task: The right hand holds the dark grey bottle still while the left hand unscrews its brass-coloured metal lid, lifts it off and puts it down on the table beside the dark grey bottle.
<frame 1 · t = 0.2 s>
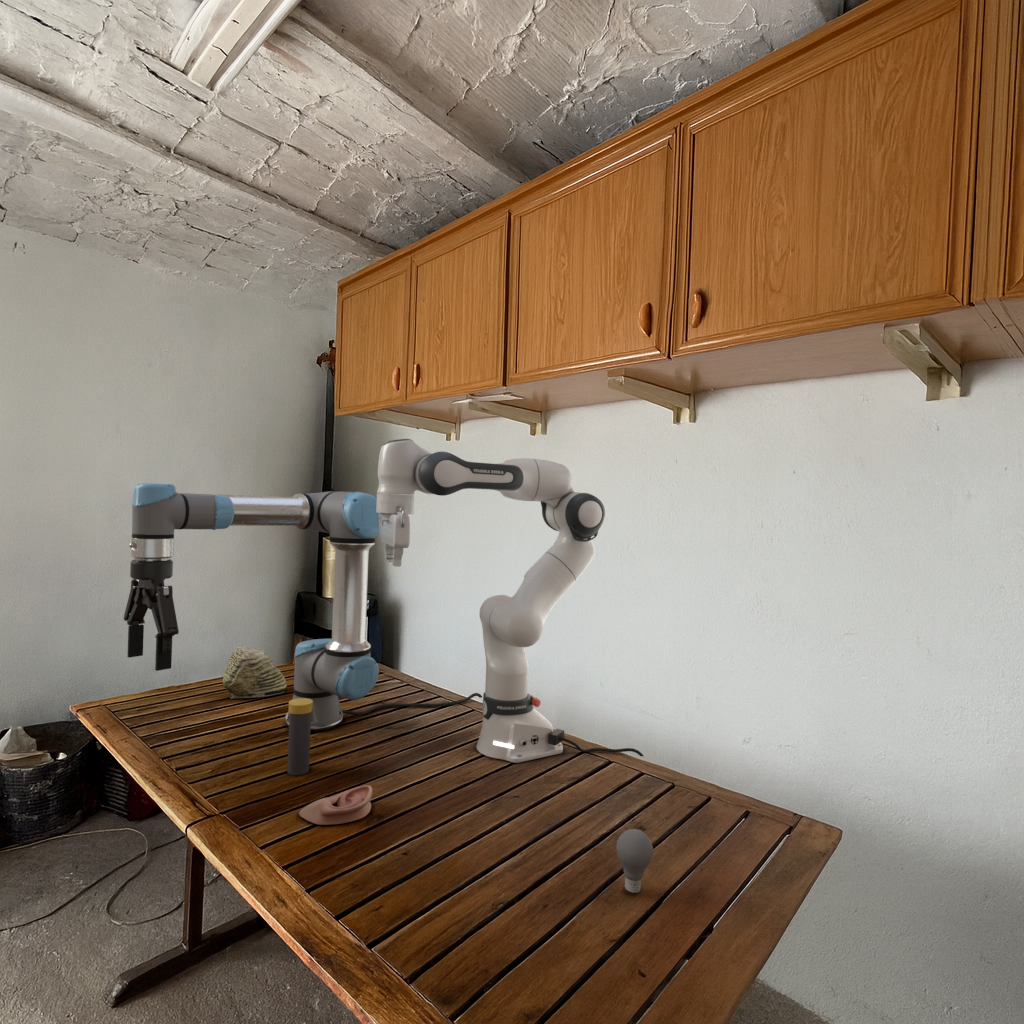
left hand: (148, 662, 129), 28 cm above the table, tool pointing down, fingers open, 13 cm apart
right hand: (392, 564, 152), 48 cm above the table, tool pointing down, fingers open, 8 cm apart
lid: (300, 703, 145), point 16 cm above the table, screwed on, not yet turned
anatomical model: (335, 812, 127), on the table
fossil: (254, 694, 198), on the table
dark grey bottle: (298, 770, 146), on the table
light bulb: (632, 891, 106), on the table
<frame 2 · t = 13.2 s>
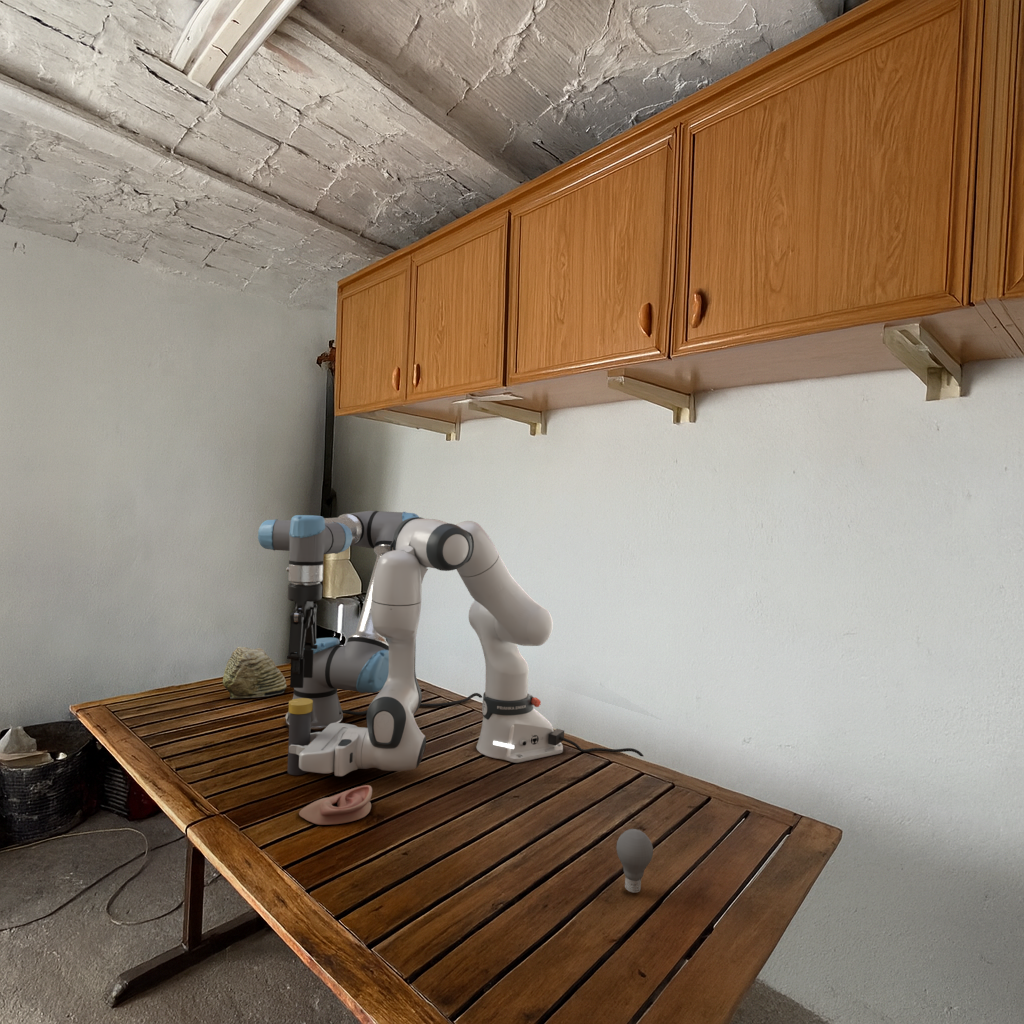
left hand: (301, 682, 145), 21 cm above the table, tool pointing down, fingers open, 7 cm apart
right hand: (295, 743, 146), 6 cm above the table, tool horizontal, fingers closed on dark grey bottle, 5 cm apart
dark grey bottle: (298, 770, 146), on the table, touching right hand
everything else where it was.
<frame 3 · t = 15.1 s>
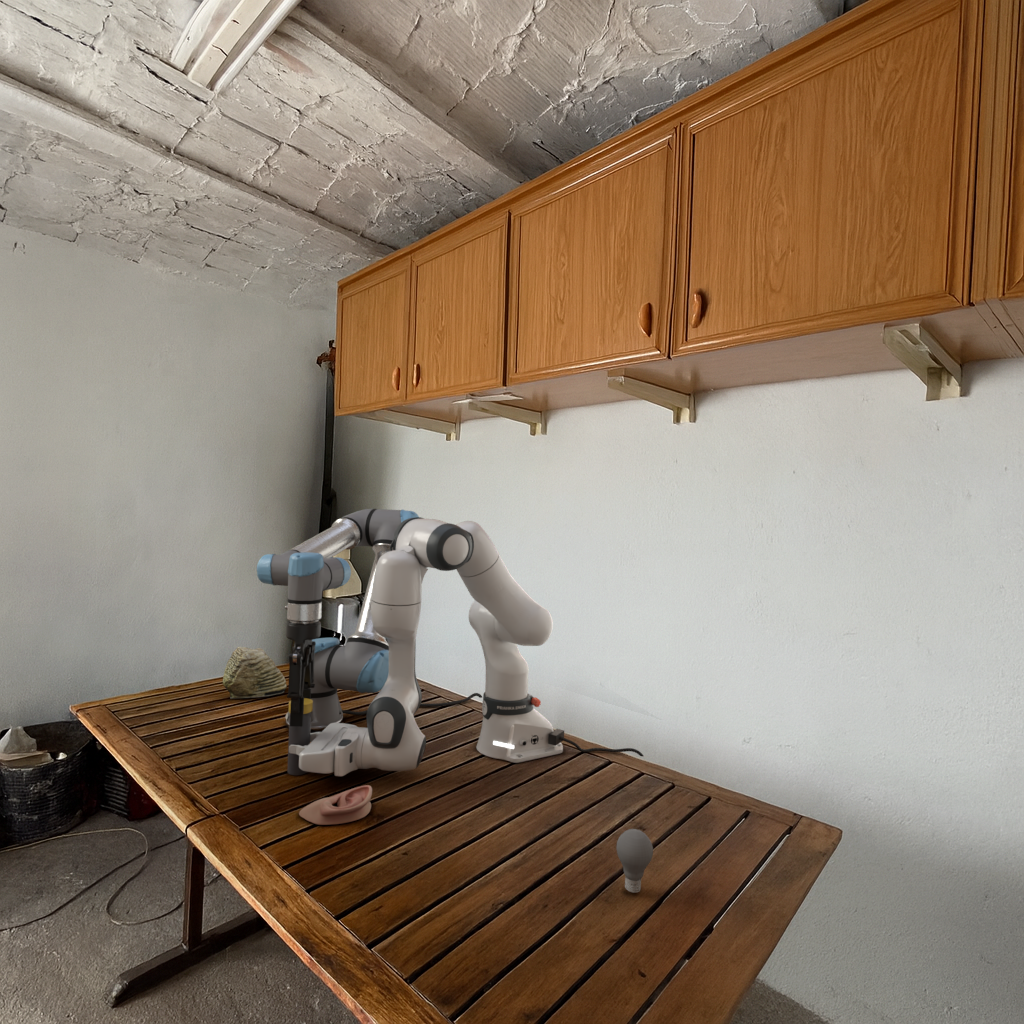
left hand: (300, 720, 145), 12 cm above the table, tool pointing down, fingers closed on lid, 5 cm apart
right hand: (295, 743, 146), 6 cm above the table, tool horizontal, fingers closed on dark grey bottle, 5 cm apart
lid: (300, 703, 145), point 16 cm above the table, screwed on, not yet turned, touching left hand
dark grey bottle: (298, 770, 146), on the table, touching right hand
everything else where it was.
when the left hand's fingers open (12 cm above the table, at t = 16.4 s): lid stays where it is, point 16 cm above the table.
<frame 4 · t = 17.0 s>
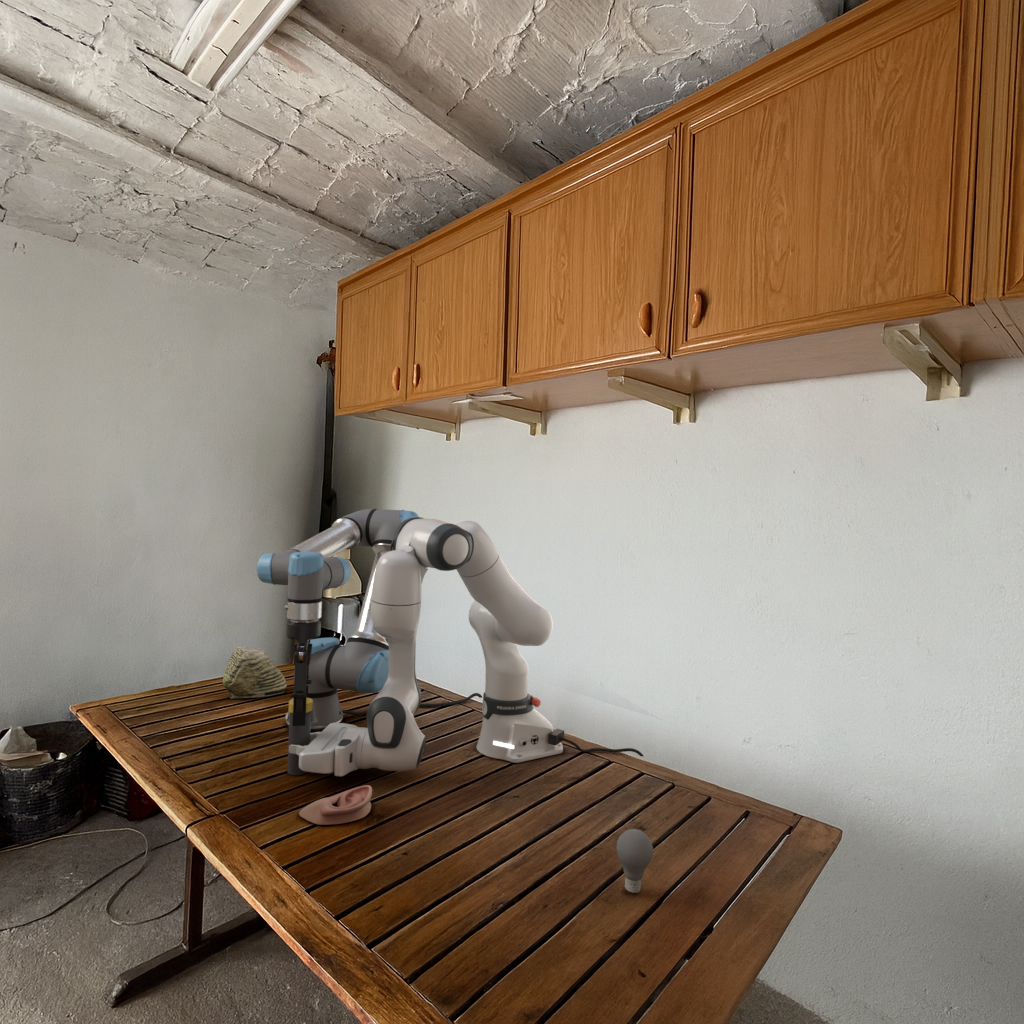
left hand: (300, 718, 145), 12 cm above the table, tool pointing down, fingers open, 7 cm apart
right hand: (295, 743, 146), 6 cm above the table, tool horizontal, fingers closed on dark grey bottle, 5 cm apart
lid: (300, 702, 145), point 16 cm above the table, turned 77° so far, risen 0.2 cm, still on its thread
dark grey bottle: (298, 770, 146), on the table, touching right hand
everything else where it was.
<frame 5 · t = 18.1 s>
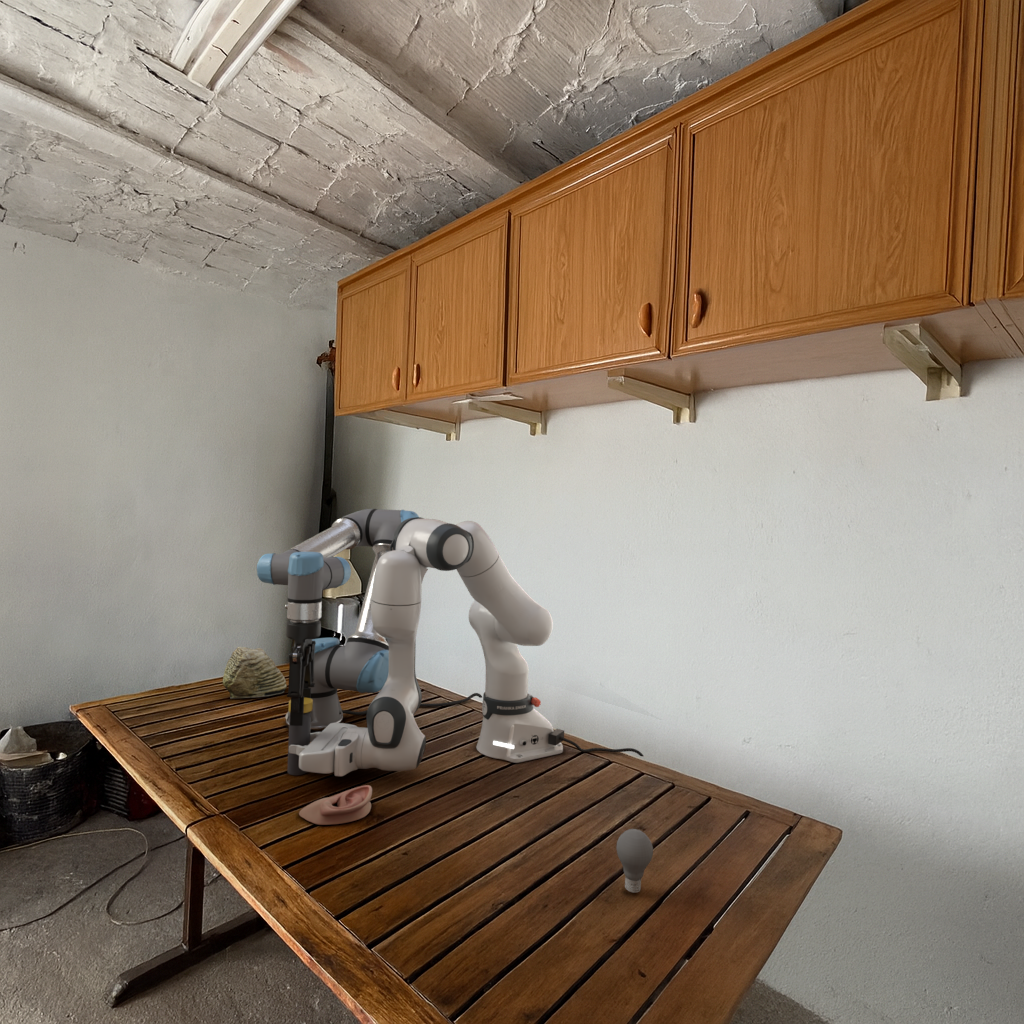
left hand: (300, 720, 145), 12 cm above the table, tool pointing down, fingers closed on lid, 5 cm apart
right hand: (295, 743, 146), 6 cm above the table, tool horizontal, fingers closed on dark grey bottle, 5 cm apart
lid: (300, 702, 145), point 16 cm above the table, turned 77° so far, risen 0.2 cm, still on its thread, touching left hand
dark grey bottle: (298, 770, 146), on the table, touching right hand
everything else where it was.
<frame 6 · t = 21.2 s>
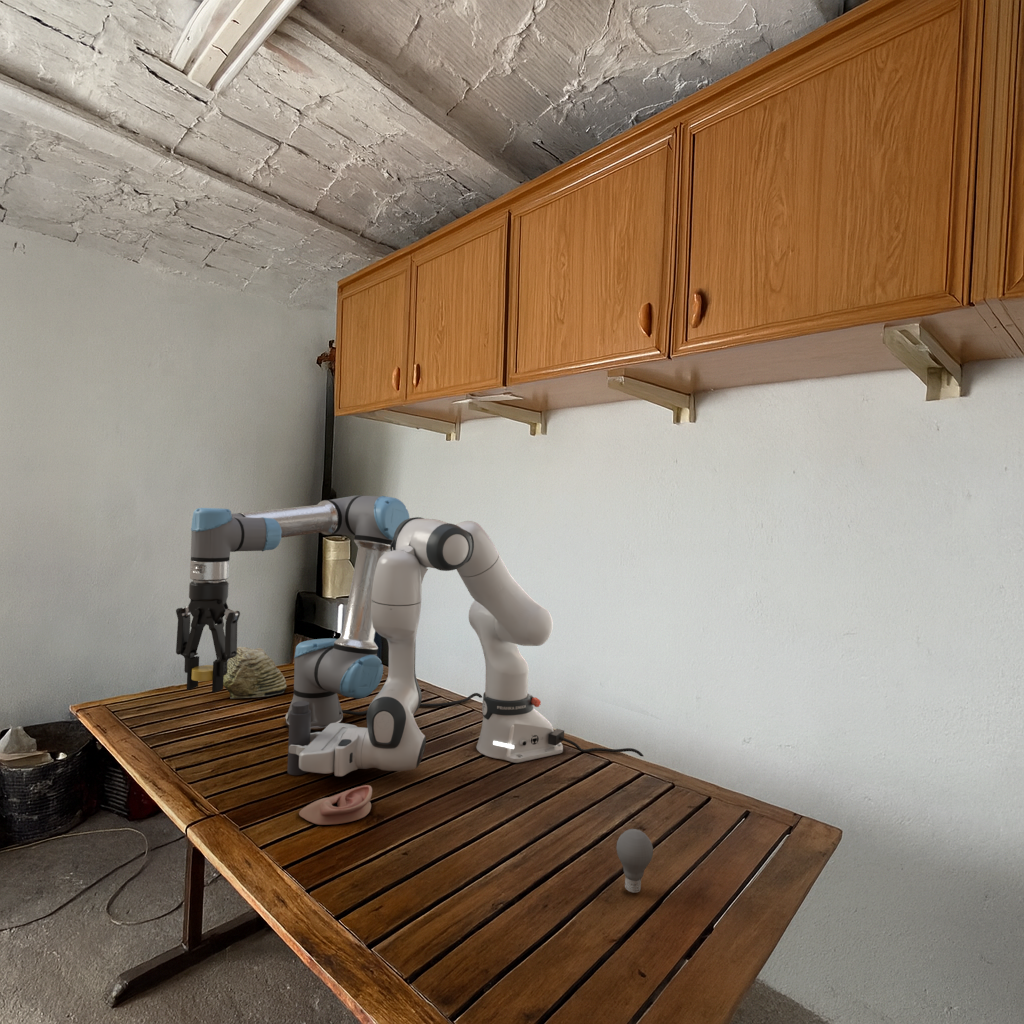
left hand: (204, 689, 135), 21 cm above the table, tool pointing down, fingers closed on lid, 5 cm apart
right hand: (295, 743, 146), 6 cm above the table, tool horizontal, fingers closed on dark grey bottle, 5 cm apart
lid: (205, 669, 135), point 25 cm above the table, off its thread, touching left hand
dark grey bottle: (298, 771, 146), on the table, touching right hand
everything else where it was.
when the left hand's fingers open (0 cm above the table, at t = 24.2 s): lid drops 3 cm, point 2 cm above the table.
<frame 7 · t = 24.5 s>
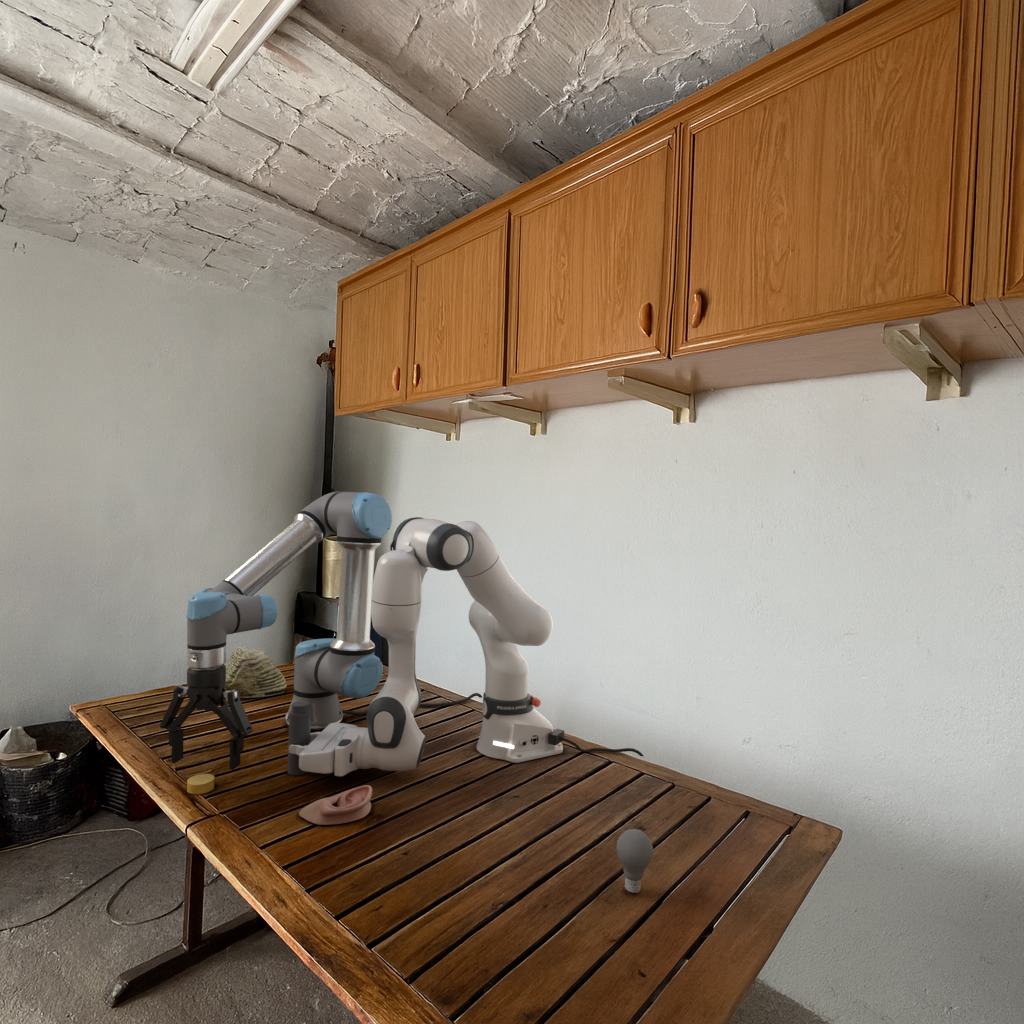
left hand: (205, 763, 136), 5 cm above the table, tool pointing down, fingers open, 13 cm apart
right hand: (295, 743, 146), 6 cm above the table, tool horizontal, fingers closed on dark grey bottle, 5 cm apart
lid: (200, 780, 135), point 2 cm above the table, off its thread
dark grey bottle: (298, 771, 146), on the table, touching right hand
everything else where it was.
when the right hand's fingers open (6 cm above the table, at t = 24.8 s): dark grey bottle stays where it is, on the table.
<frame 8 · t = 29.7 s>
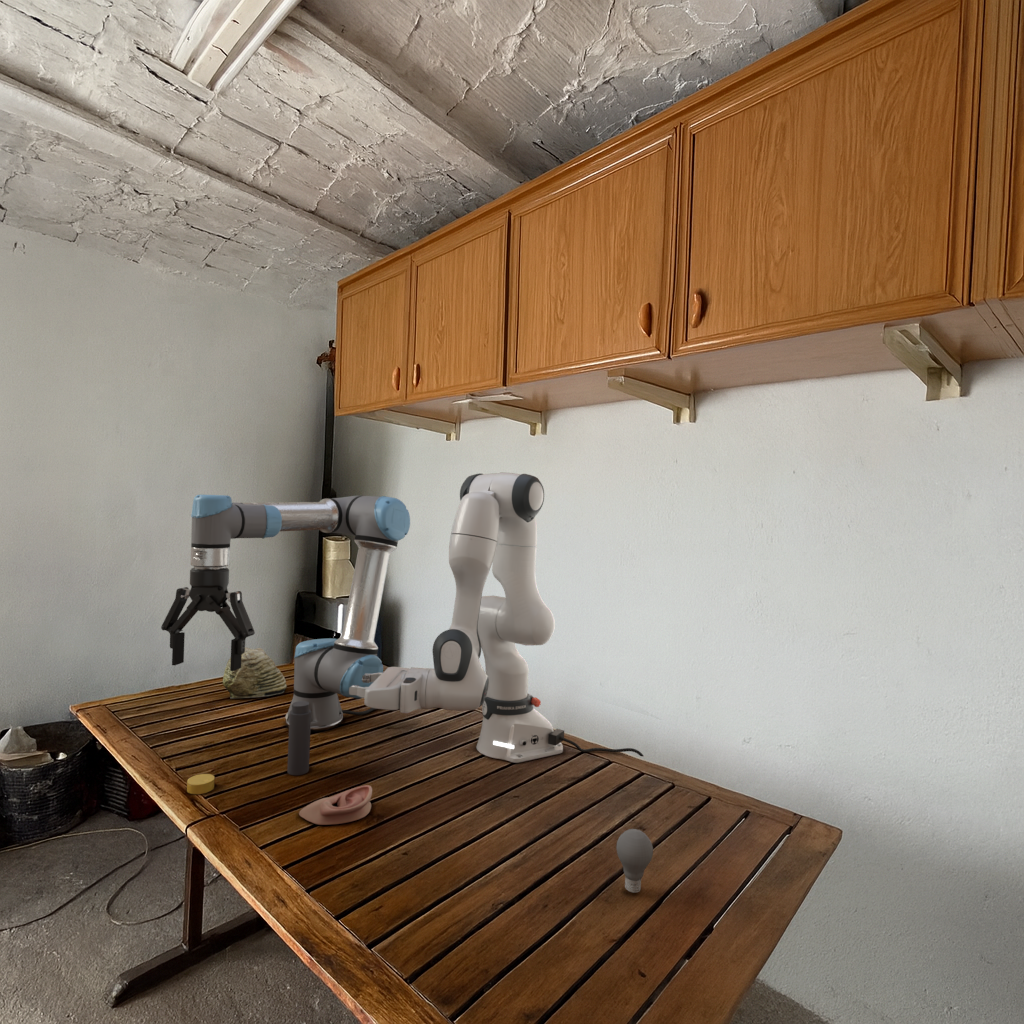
left hand: (206, 666, 135), 26 cm above the table, tool pointing down, fingers open, 13 cm apart
right hand: (356, 683, 144), 21 cm above the table, tool horizontal, fingers open, 8 cm apart
dark grey bottle: (298, 771, 146), on the table
everything else where it was.
at the end: lid came off its thread; lid point 1.7 cm above the table; the left hand is holding nothing; the right hand is holding nothing; dark grey bottle tilted 0°; dark grey bottle moved 0.0 cm from its start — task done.
